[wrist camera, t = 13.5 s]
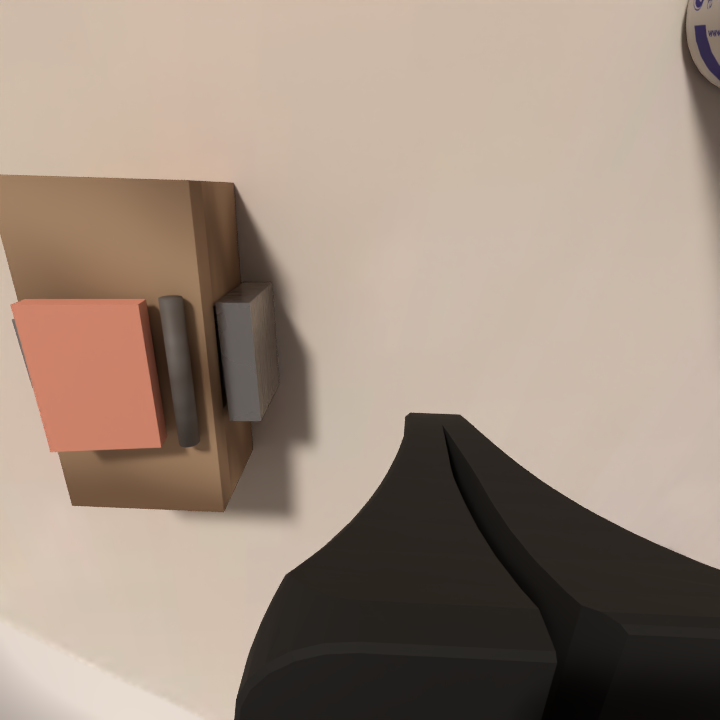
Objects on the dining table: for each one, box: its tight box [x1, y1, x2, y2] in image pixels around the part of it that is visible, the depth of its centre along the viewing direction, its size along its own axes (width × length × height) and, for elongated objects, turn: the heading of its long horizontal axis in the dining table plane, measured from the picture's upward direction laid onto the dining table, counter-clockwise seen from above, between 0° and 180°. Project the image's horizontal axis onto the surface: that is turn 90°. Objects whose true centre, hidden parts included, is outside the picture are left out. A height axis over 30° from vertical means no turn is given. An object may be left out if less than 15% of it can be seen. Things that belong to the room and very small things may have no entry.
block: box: [0, 175, 253, 512], centre depth 17 cm, size 12×6×5 cm, turn 178°
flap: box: [11, 299, 167, 452], centre depth 14 cm, size 5×1×4 cm
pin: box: [12, 282, 280, 421], centre depth 17 cm, size 5×9×4 cm, turn 90°
